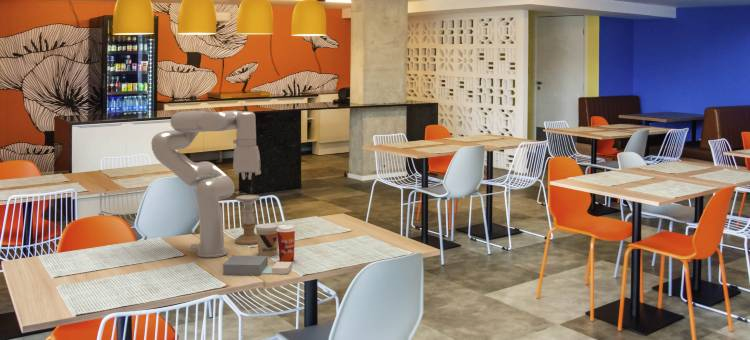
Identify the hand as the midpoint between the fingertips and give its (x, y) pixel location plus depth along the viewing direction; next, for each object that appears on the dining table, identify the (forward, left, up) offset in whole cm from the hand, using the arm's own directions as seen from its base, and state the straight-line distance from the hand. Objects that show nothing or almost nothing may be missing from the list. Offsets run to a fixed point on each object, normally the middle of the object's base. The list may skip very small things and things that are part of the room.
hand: (247, 188), depth 306 cm
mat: (+14, -14, -29) cm, 35 cm away
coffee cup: (+5, +10, -29) cm, 31 cm away
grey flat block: (+2, -14, -29) cm, 33 cm away
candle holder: (-8, +30, -29) cm, 43 cm away
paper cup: (+15, 0, -29) cm, 33 cm away
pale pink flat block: (+16, -14, -27) cm, 34 cm away
